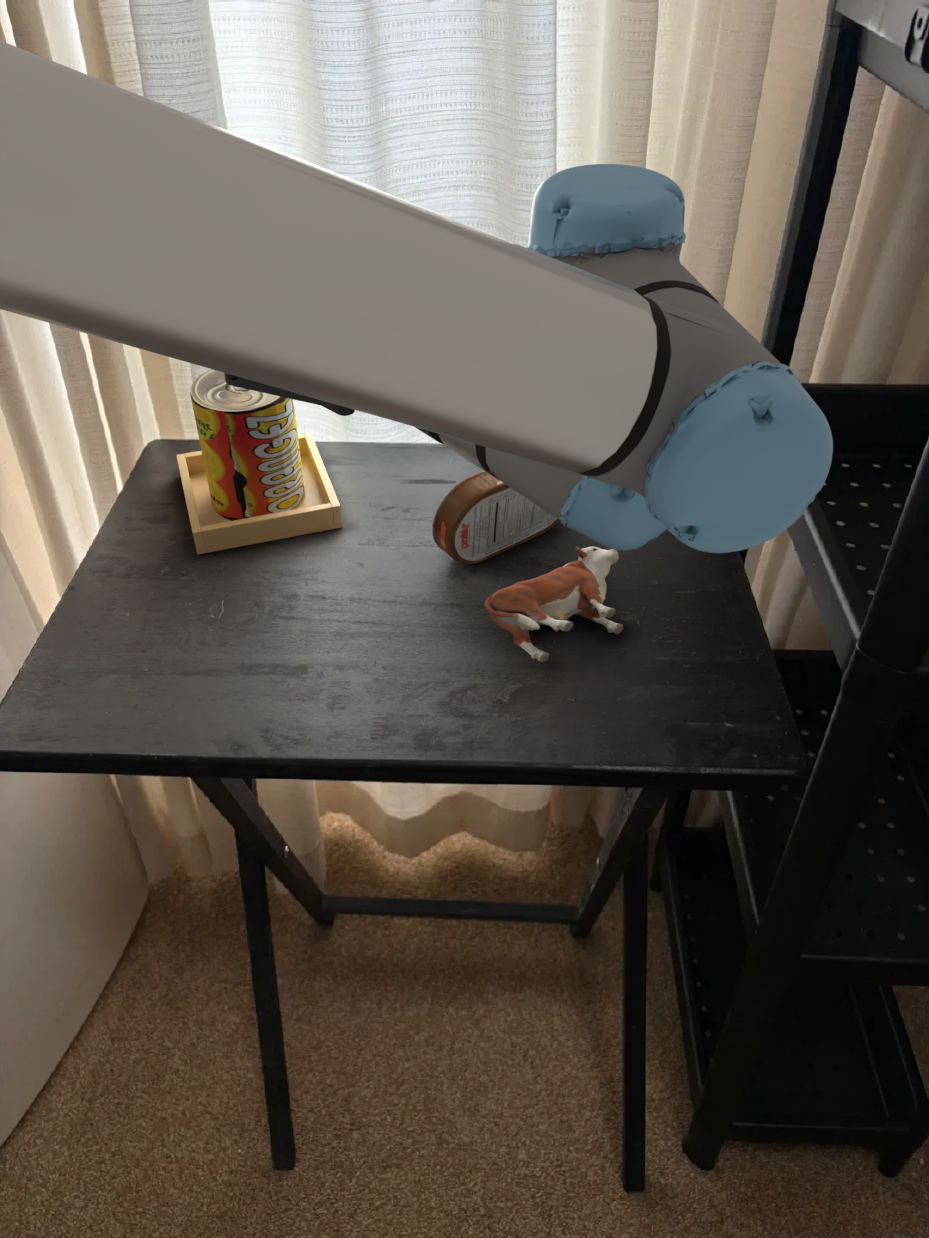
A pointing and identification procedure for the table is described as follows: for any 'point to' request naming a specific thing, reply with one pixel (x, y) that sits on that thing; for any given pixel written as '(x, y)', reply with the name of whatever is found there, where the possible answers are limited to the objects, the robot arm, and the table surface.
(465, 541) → the tin
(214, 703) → the table surface
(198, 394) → the beverage can
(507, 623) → the bull figurine
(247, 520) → the serving tray
